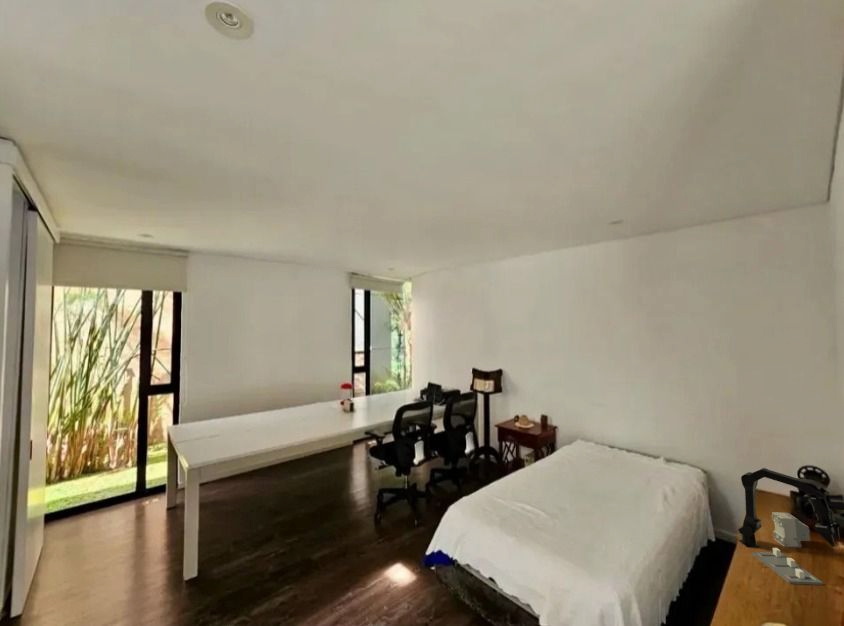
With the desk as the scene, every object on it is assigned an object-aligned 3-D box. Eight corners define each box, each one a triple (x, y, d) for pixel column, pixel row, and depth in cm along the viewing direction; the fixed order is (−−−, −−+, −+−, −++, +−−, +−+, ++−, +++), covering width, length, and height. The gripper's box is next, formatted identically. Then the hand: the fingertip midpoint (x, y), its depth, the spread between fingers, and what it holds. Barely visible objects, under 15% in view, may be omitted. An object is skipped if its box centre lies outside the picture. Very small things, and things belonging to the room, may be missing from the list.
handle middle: (787, 564, 188) (786, 557, 189) (791, 564, 188) (791, 557, 188) (791, 567, 186) (790, 560, 186) (795, 567, 186) (795, 560, 186)
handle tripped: (795, 575, 180) (795, 568, 180) (800, 575, 180) (799, 568, 180) (800, 578, 178) (799, 571, 178) (804, 578, 177) (804, 571, 177)
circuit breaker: (814, 548, 203) (811, 519, 204) (784, 546, 206) (781, 518, 207) (803, 540, 210) (800, 513, 211) (774, 539, 213) (771, 512, 214)
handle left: (773, 554, 197) (772, 547, 198) (777, 554, 197) (776, 547, 197) (776, 556, 195) (776, 550, 195) (781, 556, 195) (780, 550, 195)
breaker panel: (752, 554, 200) (751, 551, 200) (781, 555, 198) (781, 552, 198) (789, 583, 177) (789, 580, 177) (822, 585, 175) (822, 582, 175)
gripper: (838, 515, 174) (855, 552, 170) (848, 504, 184) (864, 539, 180) (807, 512, 183) (821, 548, 179) (817, 502, 193) (832, 535, 189)
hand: (835, 542), depth 181 cm, fingers open, 9 cm apart
